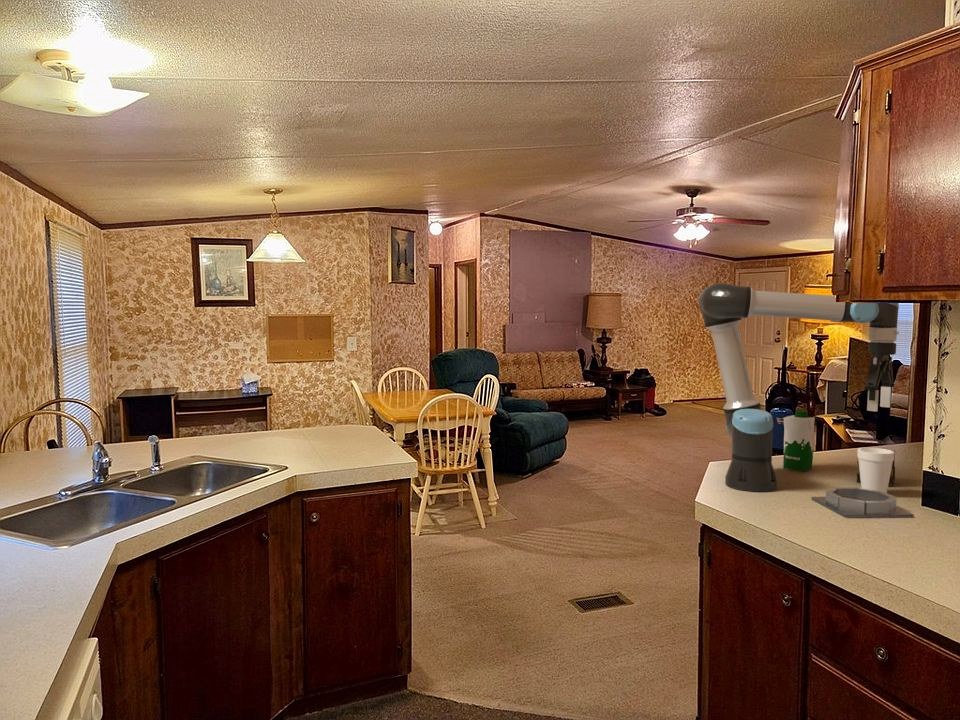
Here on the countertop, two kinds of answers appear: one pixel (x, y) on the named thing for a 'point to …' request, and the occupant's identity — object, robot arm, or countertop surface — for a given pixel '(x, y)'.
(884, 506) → the ring seat
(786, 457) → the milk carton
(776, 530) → the countertop surface
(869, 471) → the foam cup
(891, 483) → the yellow black cube
